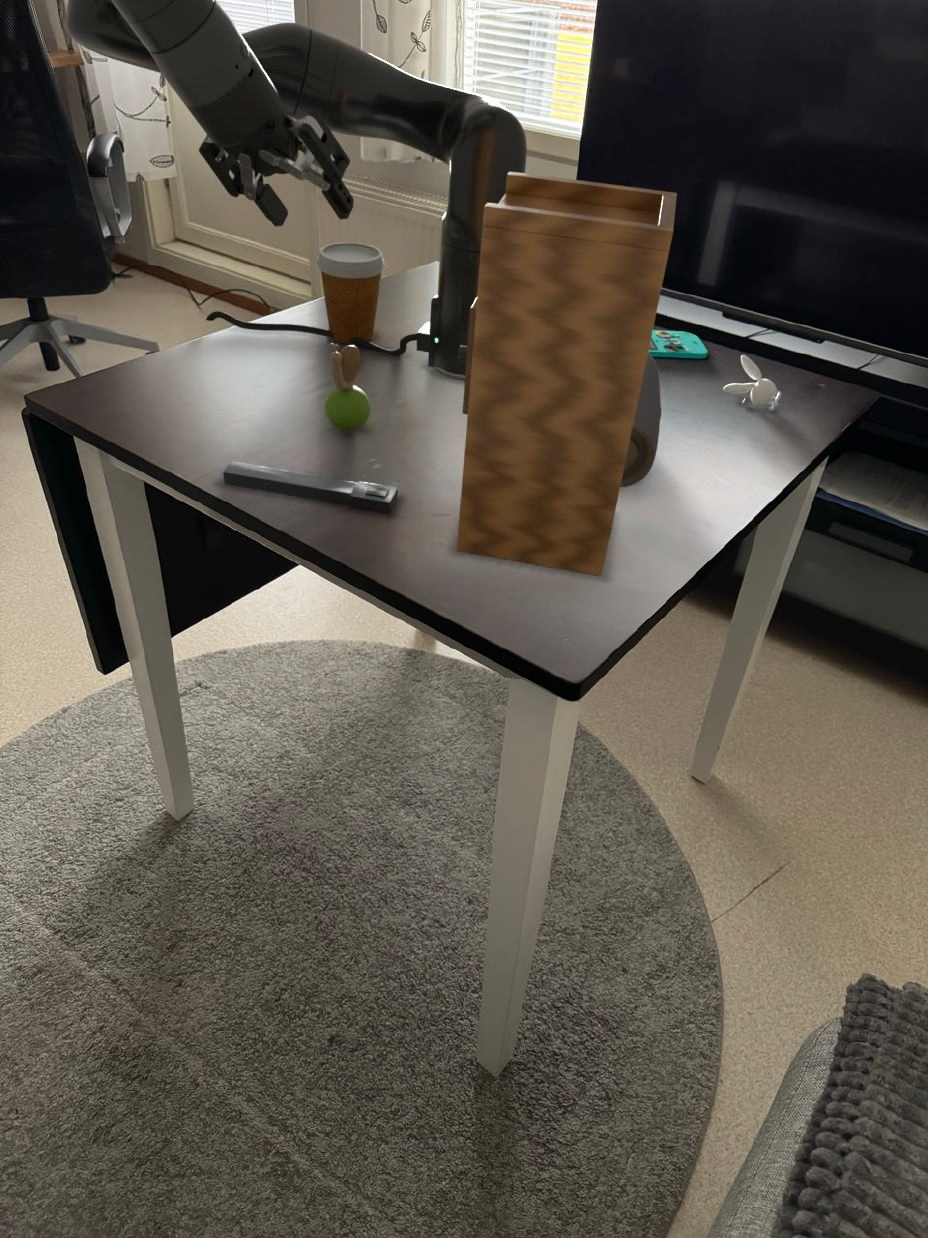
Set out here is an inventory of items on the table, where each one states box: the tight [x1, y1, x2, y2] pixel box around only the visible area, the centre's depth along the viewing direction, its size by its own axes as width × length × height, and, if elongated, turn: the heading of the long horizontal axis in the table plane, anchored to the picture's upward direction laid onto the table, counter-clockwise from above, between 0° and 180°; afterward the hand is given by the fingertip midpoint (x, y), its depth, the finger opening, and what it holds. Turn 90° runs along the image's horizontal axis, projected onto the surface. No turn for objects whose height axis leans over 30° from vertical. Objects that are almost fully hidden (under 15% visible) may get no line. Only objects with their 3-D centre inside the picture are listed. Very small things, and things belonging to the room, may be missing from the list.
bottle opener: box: [222, 460, 399, 516], centre depth 100 cm, size 19×3×2 cm, turn 78°
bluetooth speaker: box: [620, 351, 662, 489], centre depth 110 cm, size 23×9×10 cm, turn 170°
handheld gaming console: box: [649, 329, 708, 359], centre depth 139 cm, size 8×1×15 cm
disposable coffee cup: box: [316, 241, 386, 345], centre depth 131 cm, size 10×10×12 cm
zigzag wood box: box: [456, 171, 678, 577], centre depth 87 cm, size 17×12×34 cm
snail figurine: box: [324, 342, 371, 432], centre depth 108 cm, size 5×6×12 cm
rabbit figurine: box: [723, 354, 782, 412], centre depth 125 cm, size 6×4×8 cm
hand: (314, 216), depth 93 cm, fingers open, 8 cm apart
